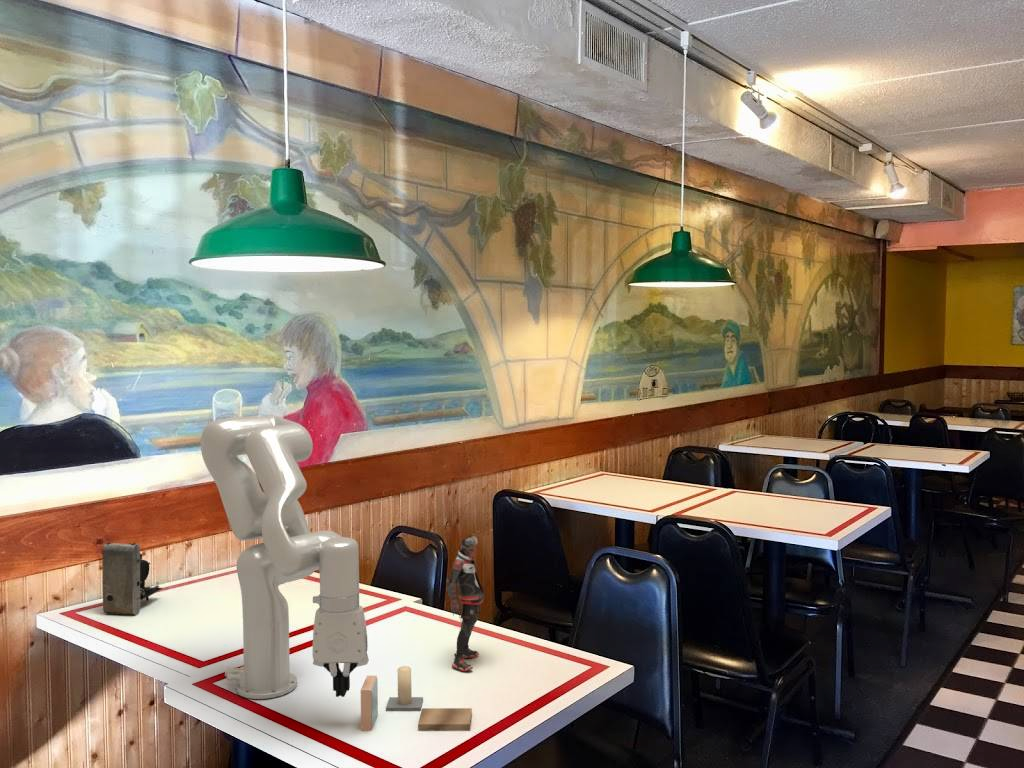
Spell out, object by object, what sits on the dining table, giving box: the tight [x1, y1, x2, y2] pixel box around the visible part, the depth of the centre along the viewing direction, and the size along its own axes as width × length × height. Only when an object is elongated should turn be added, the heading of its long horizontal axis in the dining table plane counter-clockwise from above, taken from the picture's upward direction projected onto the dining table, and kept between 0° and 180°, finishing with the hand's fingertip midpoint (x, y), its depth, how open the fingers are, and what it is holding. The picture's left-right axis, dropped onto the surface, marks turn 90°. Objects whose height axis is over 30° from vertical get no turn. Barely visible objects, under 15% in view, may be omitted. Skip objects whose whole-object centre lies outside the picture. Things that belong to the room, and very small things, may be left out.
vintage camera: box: [101, 541, 163, 616], centre depth 236 cm, size 10×16×20 cm, turn 172°
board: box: [417, 707, 473, 731], centre depth 165 cm, size 10×7×1 cm
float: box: [385, 665, 424, 712], centre depth 172 cm, size 7×5×8 cm
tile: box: [360, 675, 379, 732], centre depth 164 cm, size 2×7×8 cm, turn 0°
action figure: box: [445, 535, 486, 672], centre depth 194 cm, size 10×11×30 cm
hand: (341, 693), depth 164 cm, fingers closed
